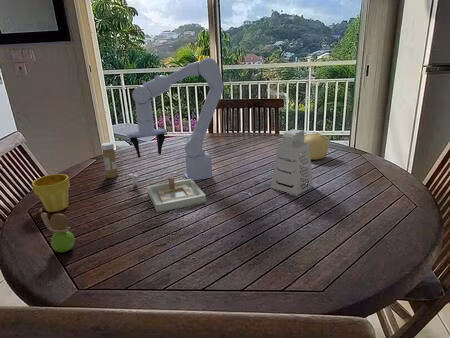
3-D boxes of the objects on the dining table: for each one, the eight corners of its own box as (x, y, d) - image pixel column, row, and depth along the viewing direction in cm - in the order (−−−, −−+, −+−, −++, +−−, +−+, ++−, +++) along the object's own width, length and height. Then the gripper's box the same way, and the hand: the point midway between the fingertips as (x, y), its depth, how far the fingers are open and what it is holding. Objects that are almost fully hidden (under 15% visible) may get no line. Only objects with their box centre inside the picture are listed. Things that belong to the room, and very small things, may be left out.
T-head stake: (129, 186, 123) (127, 175, 121) (132, 184, 124) (130, 173, 123) (139, 188, 121) (137, 176, 120) (142, 186, 123) (140, 174, 121)
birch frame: (195, 198, 110) (194, 184, 108) (163, 205, 106) (161, 190, 104) (186, 187, 119) (185, 174, 117) (156, 192, 115) (155, 179, 114)
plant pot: (38, 218, 102) (31, 188, 99) (39, 205, 111) (32, 177, 107) (75, 209, 107) (69, 181, 103) (72, 198, 115) (67, 171, 112)
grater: (312, 186, 117) (316, 130, 110) (296, 196, 110) (299, 137, 103) (287, 179, 124) (289, 126, 117) (270, 188, 117) (271, 132, 110)
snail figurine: (54, 245, 88) (44, 204, 83) (79, 243, 88) (70, 202, 84) (45, 257, 82) (34, 214, 78) (72, 255, 83) (62, 212, 79)
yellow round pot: (331, 155, 148) (333, 131, 144) (322, 163, 138) (324, 138, 135) (306, 152, 154) (307, 129, 150) (296, 159, 144) (297, 135, 141)
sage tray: (191, 184, 122) (191, 178, 121) (206, 202, 108) (205, 195, 107) (147, 193, 117) (146, 186, 116) (156, 212, 103) (156, 205, 102)
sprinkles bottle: (119, 176, 133) (114, 143, 128) (108, 179, 130) (102, 146, 126) (116, 173, 136) (111, 141, 132) (105, 175, 134) (99, 143, 129)
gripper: (126, 124, 115) (131, 161, 120) (167, 119, 120) (170, 155, 125) (123, 120, 122) (128, 155, 126) (163, 116, 127) (166, 150, 131)
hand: (149, 155), depth 126 cm, fingers open, 7 cm apart
